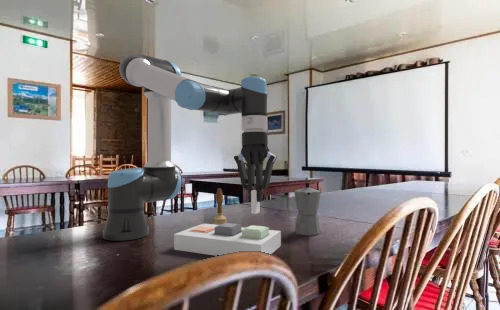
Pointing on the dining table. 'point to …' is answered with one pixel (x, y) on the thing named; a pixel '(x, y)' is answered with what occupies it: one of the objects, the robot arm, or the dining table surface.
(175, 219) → the dining table surface
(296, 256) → the dining table surface
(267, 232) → the sage key
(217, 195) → the hand bell
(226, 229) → the charcoal key
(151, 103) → the robot arm
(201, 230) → the terracotta key
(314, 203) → the coffeepot
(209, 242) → the white button panel
